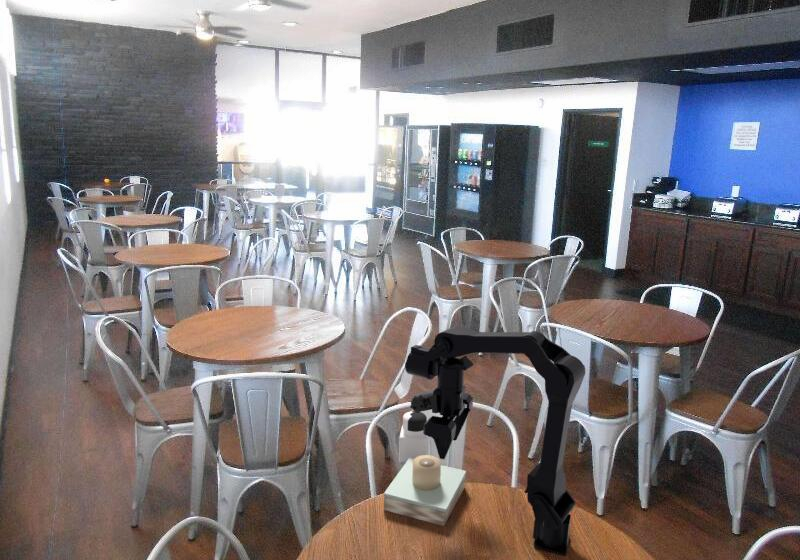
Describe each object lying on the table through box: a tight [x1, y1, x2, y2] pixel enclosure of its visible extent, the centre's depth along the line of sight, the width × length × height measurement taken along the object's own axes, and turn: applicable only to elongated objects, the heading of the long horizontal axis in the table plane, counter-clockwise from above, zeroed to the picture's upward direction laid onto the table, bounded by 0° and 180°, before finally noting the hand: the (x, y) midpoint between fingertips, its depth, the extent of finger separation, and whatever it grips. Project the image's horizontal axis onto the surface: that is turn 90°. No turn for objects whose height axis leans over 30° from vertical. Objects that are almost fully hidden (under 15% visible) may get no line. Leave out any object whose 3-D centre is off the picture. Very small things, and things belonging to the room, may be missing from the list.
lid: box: [383, 458, 467, 512], centre depth 135 cm, size 14×16×1 cm
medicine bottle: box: [398, 410, 430, 464], centre depth 152 cm, size 7×7×12 cm
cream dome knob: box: [412, 454, 442, 491], centre depth 134 cm, size 6×6×5 cm
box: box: [383, 476, 466, 527], centre depth 135 cm, size 14×16×3 cm
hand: (448, 449), depth 133 cm, fingers open, 9 cm apart
